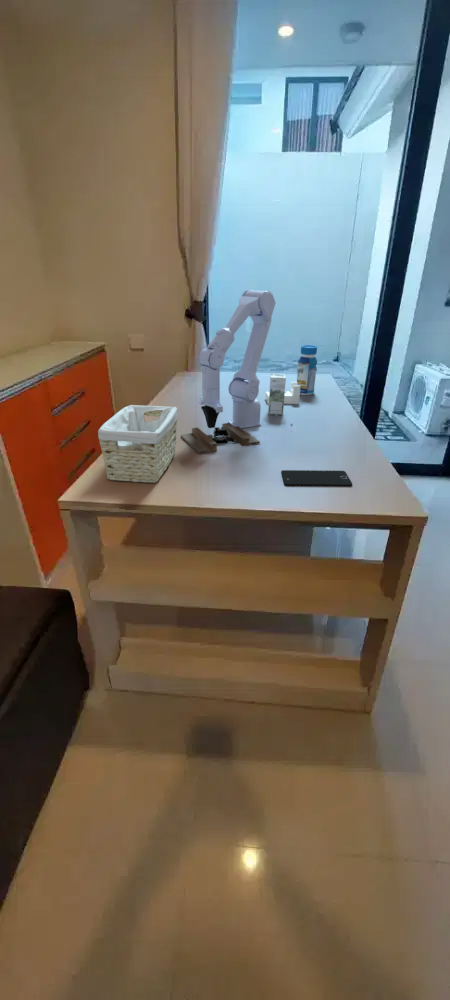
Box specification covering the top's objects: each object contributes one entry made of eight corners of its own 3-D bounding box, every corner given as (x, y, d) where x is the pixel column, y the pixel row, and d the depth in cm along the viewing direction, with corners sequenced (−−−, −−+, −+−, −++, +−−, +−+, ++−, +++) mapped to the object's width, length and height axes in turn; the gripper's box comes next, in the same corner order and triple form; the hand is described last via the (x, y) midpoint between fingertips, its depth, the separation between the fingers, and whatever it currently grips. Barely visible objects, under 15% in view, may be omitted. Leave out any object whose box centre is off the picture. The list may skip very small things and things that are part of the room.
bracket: (295, 399, 188) (297, 381, 184) (298, 404, 182) (300, 386, 178) (265, 399, 187) (266, 381, 184) (267, 404, 181) (268, 386, 177)
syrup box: (282, 410, 173) (285, 373, 166) (283, 415, 167) (285, 377, 160) (268, 410, 173) (270, 373, 166) (268, 415, 168) (270, 376, 161)
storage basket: (130, 449, 137) (126, 403, 130) (181, 452, 135) (179, 405, 128) (101, 483, 116) (94, 430, 109) (161, 487, 114) (157, 433, 107)
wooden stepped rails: (237, 428, 154) (237, 421, 153) (259, 443, 142) (260, 436, 140) (181, 436, 146) (180, 429, 145) (198, 453, 134) (198, 446, 133)
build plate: (237, 437, 148) (237, 424, 146) (241, 445, 142) (241, 432, 140) (200, 439, 146) (200, 425, 144) (203, 447, 140) (203, 433, 138)
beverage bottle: (315, 395, 192) (320, 348, 183) (296, 395, 193) (300, 347, 183) (312, 390, 200) (317, 344, 190) (294, 390, 200) (298, 344, 190)
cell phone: (352, 487, 116) (353, 484, 115) (284, 487, 115) (284, 484, 115) (344, 473, 123) (345, 470, 123) (280, 473, 123) (281, 470, 123)
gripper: (191, 383, 146) (192, 422, 153) (208, 394, 135) (208, 435, 141) (210, 381, 149) (211, 419, 155) (228, 391, 137) (228, 432, 144)
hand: (211, 427), depth 149 cm, fingers closed
